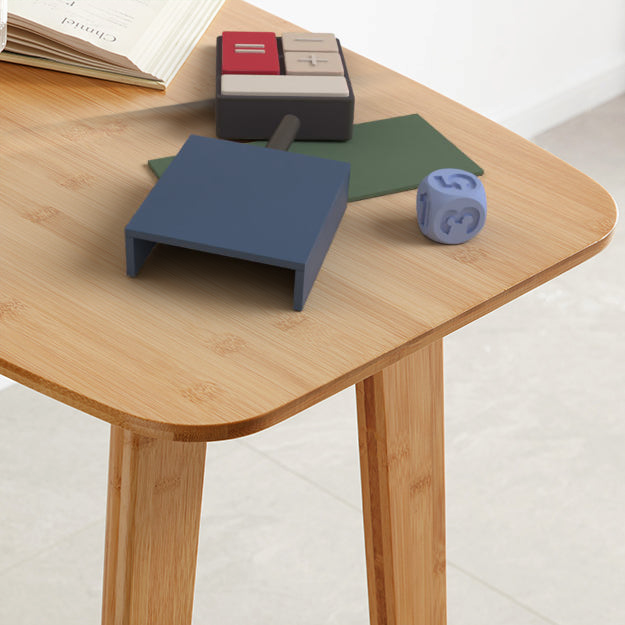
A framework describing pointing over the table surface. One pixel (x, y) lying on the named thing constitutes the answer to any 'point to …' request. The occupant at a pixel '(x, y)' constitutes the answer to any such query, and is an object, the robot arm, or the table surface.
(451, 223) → the decorative dice
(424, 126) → the mat
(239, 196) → the dustpan
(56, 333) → the table surface
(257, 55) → the calculator
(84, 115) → the table surface
